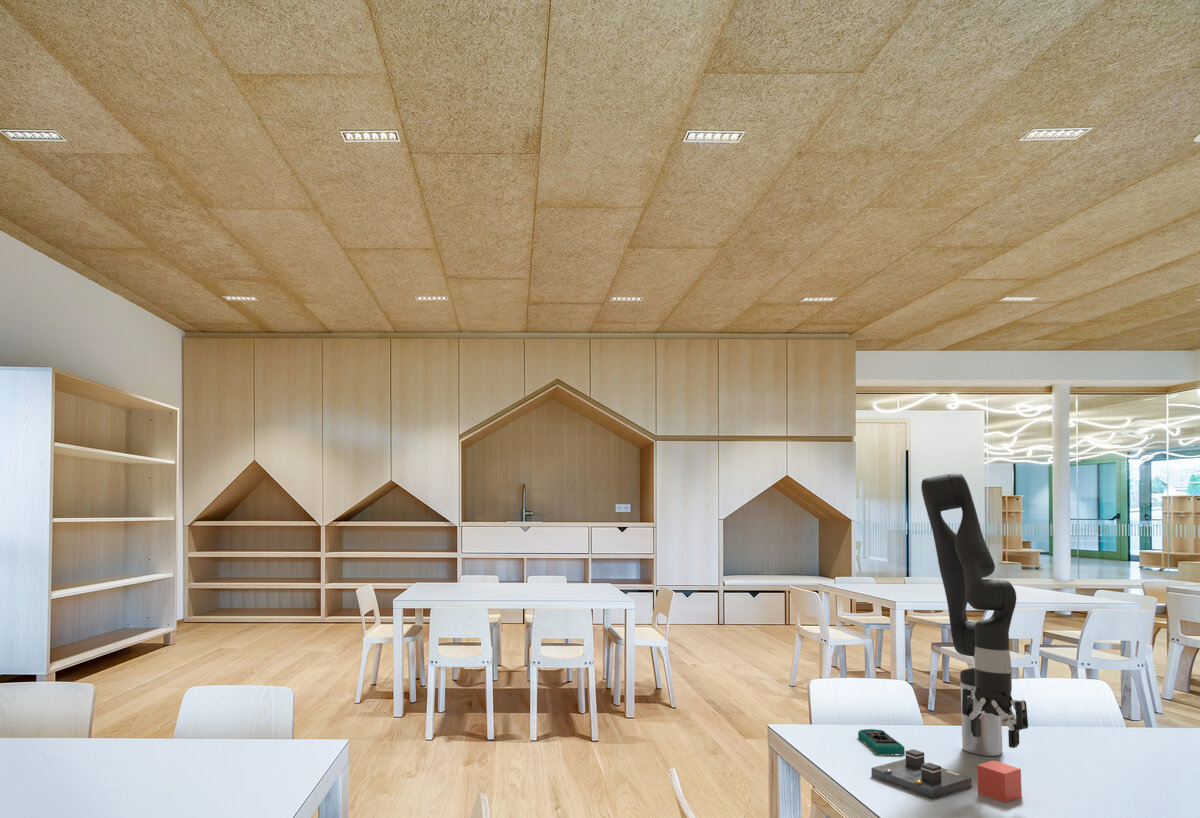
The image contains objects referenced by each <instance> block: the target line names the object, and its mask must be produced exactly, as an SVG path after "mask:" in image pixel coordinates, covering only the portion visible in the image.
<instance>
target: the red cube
mask: <svg viewBox="0 0 1200 818" xmlns="http://www.w3.org/2000/svg"><path fill="white" fill-rule="evenodd" d="M976 767H977V769H976V772H977V773H976V774H977V776H976V777H977V793H978V794H980V795H983V796H986V797H989V798H992V799H995V800H998V801H1000V802H1003V803H1008V802H1011V801H1014V800H1017V799H1019V798H1022V797H1023V793H1022V792H1023V791H1022V774H1021V773H1022V772H1021V771H1022V769H1021V768H1020V767H1019V768H1018V767H1016V766H1012V765H1009V764H1006V763H1002V762H1000V761H996V760H990V761H986V762H982V763H979V764H976Z"/></svg>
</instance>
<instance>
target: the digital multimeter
mask: <svg viewBox="0 0 1200 818" xmlns="http://www.w3.org/2000/svg"><path fill="white" fill-rule="evenodd" d="M857 732H858V733H857V734H858V735H857V736H858V739H859V740H860V739H861V740H862V741H861V740H860V741H861V742H863V741H864V742H865V743H866V744H865V743H864V742H863V743H864V744H865V745H867V747H869V748H870V749H871V748H872V749H873V750H874V751H875V752H876V753H875V752H874V751H873V750H872V749H871V750H872V751H873V752H874V753H875V754H877V755H878V754H889V755H888V756H892V755H891V754H904V755H905V754H906V752H905V751H906V750H905V746H904V745H903V744H901V742H899V741H897V740H895V738H893V737H892V736H890V735H889V734H888V733H887V732H886V731H884V730H883V729H876V728H875V729H874V728H867V729H860V730H858V731H857Z"/></svg>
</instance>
